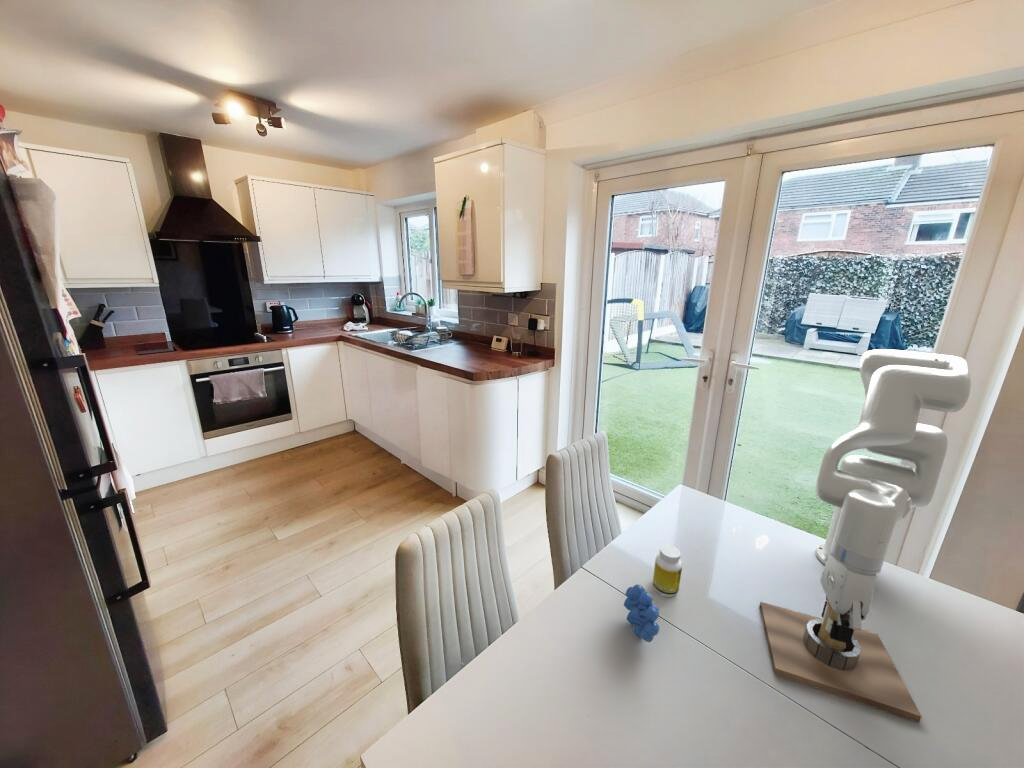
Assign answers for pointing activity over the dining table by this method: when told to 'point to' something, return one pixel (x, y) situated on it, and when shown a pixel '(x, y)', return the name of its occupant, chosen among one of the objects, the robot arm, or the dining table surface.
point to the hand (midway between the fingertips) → (835, 629)
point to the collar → (830, 649)
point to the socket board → (863, 684)
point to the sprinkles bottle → (826, 628)
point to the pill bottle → (667, 571)
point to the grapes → (642, 612)
